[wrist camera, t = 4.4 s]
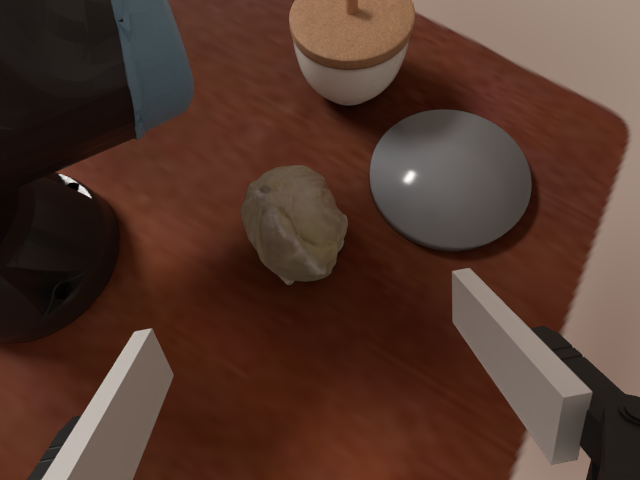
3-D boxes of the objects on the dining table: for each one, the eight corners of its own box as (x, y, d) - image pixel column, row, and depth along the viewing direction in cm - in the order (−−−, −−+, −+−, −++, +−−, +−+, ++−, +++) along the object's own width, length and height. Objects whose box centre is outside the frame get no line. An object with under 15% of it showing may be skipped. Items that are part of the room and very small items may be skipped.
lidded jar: (421, 78, 36) (447, -14, 27) (352, 142, 34) (356, 64, 25) (346, 30, 39) (348, -67, 30) (278, 86, 37) (258, -1, 28)
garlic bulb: (323, 291, 32) (323, 315, 22) (237, 256, 32) (197, 264, 22) (362, 195, 31) (379, 174, 21) (275, 160, 32) (252, 124, 22)
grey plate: (390, 265, 29) (391, 261, 28) (354, 132, 34) (355, 124, 33) (550, 234, 30) (558, 229, 28) (492, 106, 34) (497, 97, 33)
